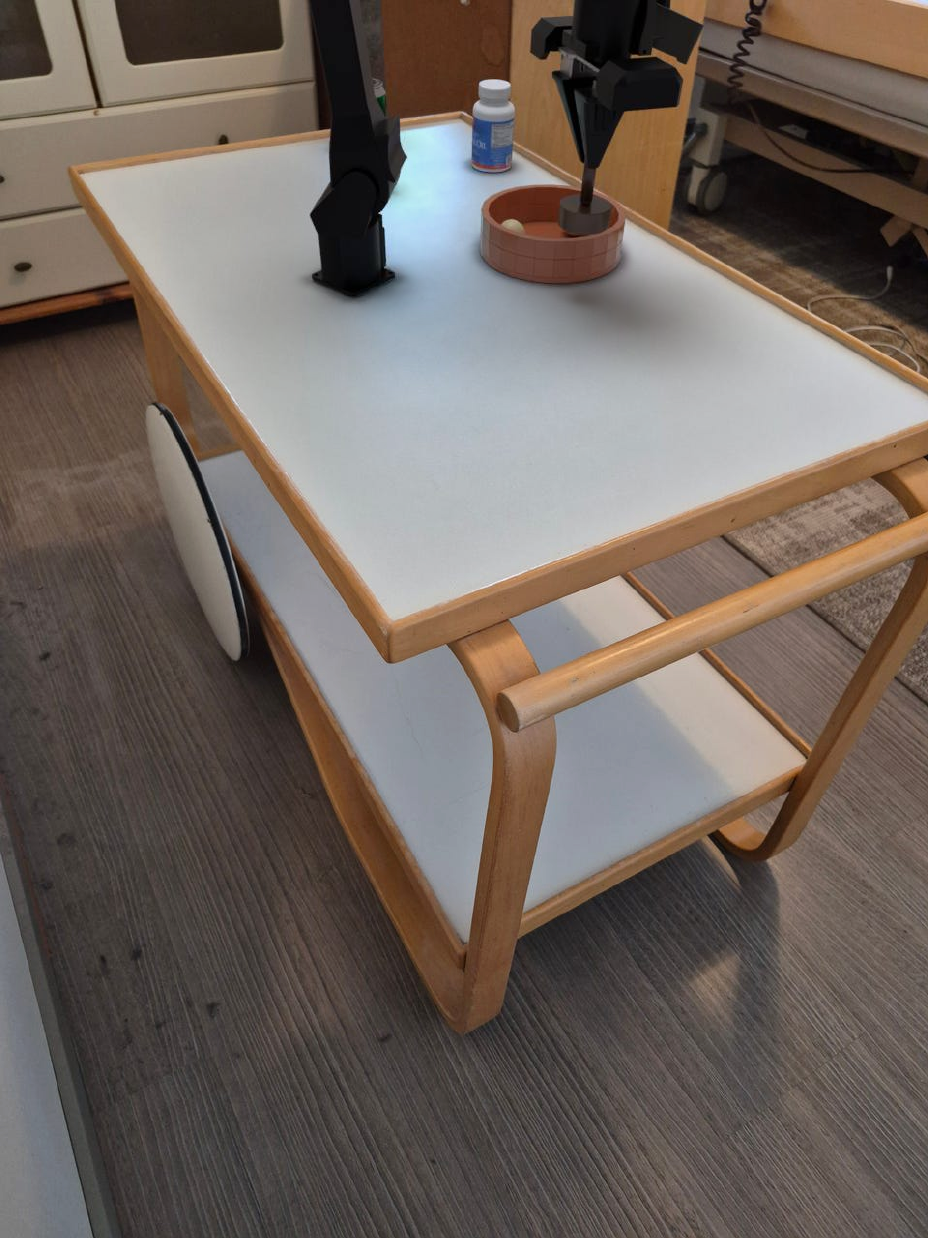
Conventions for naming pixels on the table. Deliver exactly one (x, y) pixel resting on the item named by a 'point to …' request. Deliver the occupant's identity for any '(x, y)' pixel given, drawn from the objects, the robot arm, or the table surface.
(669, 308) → the table surface
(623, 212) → the bowl
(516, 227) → the dumpling
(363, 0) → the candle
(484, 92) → the pill bottle
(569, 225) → the brown peg stand
